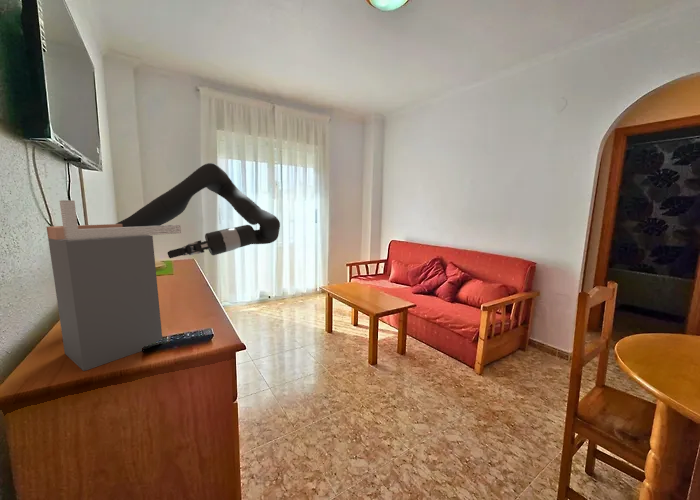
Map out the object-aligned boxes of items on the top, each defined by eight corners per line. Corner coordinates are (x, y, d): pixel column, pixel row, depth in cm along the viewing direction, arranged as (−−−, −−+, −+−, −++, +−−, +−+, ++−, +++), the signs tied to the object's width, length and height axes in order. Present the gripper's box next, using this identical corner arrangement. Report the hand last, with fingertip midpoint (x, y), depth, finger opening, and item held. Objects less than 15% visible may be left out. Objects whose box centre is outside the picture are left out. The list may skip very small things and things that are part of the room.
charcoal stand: (64, 353, 81) (46, 226, 77) (139, 331, 96) (128, 223, 91) (83, 371, 73) (64, 228, 68) (162, 343, 87) (151, 225, 82)
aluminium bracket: (64, 240, 72) (59, 200, 71) (176, 232, 93) (173, 202, 92) (68, 240, 70) (63, 200, 69) (181, 233, 92) (178, 202, 90)
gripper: (215, 232, 104) (163, 244, 95) (224, 228, 92) (165, 241, 84) (222, 252, 105) (171, 266, 96) (231, 251, 93) (174, 267, 84)
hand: (168, 255), depth 90 cm, fingers open, 8 cm apart
